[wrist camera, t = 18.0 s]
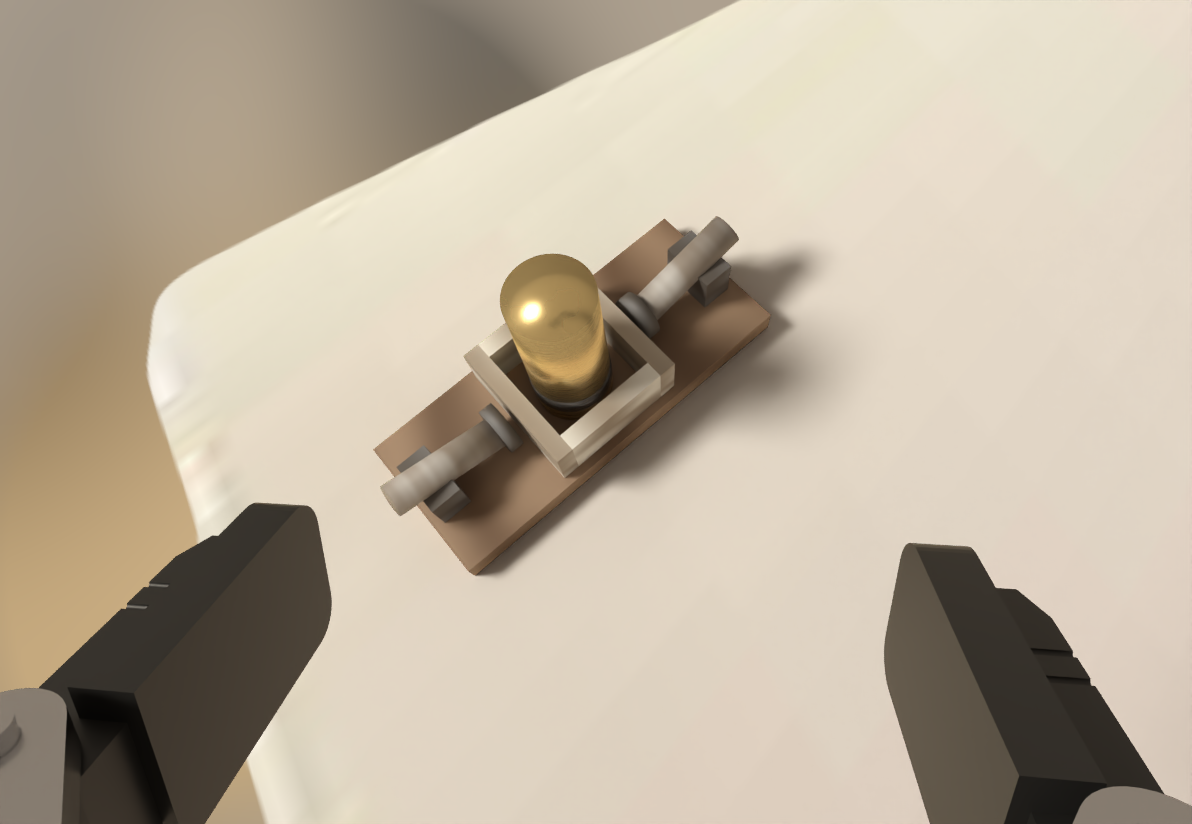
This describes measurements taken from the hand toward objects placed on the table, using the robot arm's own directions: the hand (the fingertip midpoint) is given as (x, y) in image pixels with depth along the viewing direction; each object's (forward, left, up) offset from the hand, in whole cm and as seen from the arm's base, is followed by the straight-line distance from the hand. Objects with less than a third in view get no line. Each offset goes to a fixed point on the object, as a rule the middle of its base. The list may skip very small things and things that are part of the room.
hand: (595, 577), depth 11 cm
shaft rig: (-7, -14, -31) cm, 34 cm away
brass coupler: (-7, -14, -29) cm, 33 cm away
